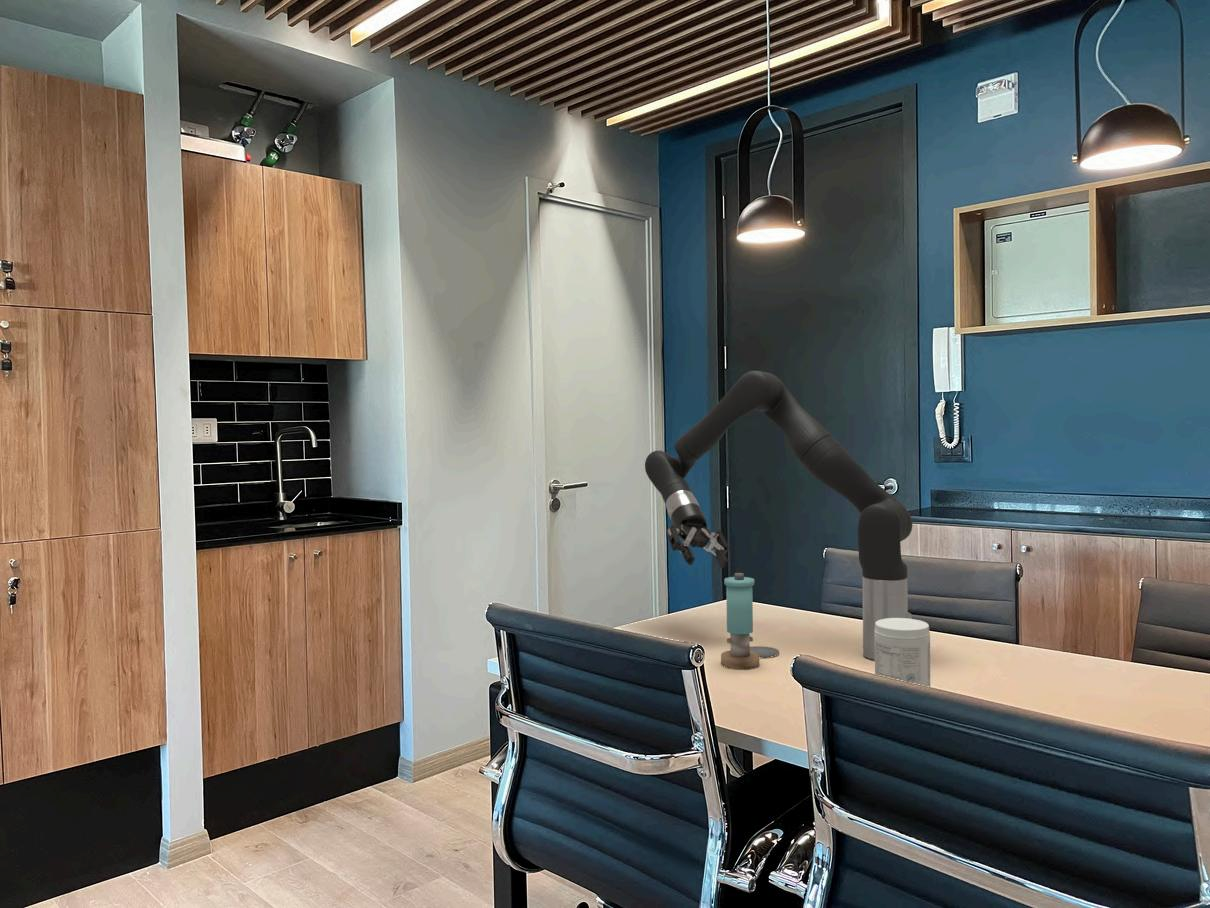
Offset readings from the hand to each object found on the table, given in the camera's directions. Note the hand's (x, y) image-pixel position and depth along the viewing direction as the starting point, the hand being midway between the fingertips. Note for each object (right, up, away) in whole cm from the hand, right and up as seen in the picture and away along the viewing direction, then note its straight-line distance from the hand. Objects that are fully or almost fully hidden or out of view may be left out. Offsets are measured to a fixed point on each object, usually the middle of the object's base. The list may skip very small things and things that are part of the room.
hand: (708, 563), depth 203 cm
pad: (+11, -19, -4) cm, 23 cm away
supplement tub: (+30, -21, -40) cm, 54 cm away
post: (+5, -20, -12) cm, 24 cm away
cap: (+5, -13, -12) cm, 18 cm away
